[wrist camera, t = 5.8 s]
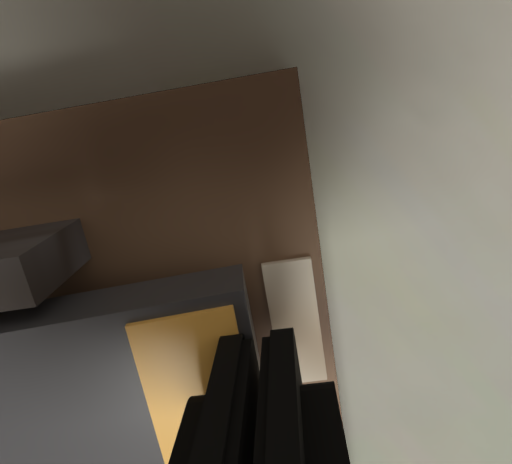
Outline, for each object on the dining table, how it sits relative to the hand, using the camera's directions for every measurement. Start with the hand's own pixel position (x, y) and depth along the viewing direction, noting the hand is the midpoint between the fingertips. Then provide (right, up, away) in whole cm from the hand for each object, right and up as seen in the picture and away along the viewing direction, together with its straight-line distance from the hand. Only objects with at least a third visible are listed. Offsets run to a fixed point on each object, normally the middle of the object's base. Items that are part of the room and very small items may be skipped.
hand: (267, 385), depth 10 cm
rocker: (-6, -1, +1) cm, 6 cm away
